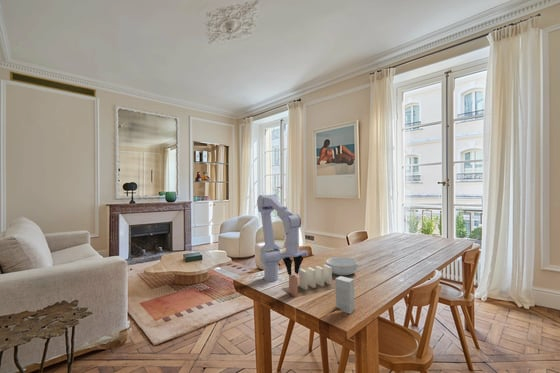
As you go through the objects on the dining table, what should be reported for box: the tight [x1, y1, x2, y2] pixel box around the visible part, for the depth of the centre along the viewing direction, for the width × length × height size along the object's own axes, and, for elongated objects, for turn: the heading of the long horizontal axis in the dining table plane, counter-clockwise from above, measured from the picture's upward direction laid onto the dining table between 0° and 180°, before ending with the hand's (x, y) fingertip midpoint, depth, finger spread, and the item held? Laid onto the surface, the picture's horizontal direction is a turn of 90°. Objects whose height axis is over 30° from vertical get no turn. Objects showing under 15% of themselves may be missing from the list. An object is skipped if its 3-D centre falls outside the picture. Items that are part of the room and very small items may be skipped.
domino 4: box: [322, 264, 333, 285], centre depth 123 cm, size 2×5×8 cm, turn 24°
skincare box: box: [334, 275, 356, 315], centre depth 98 cm, size 6×4×12 cm
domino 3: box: [314, 265, 324, 286], centre depth 121 cm, size 2×5×8 cm, turn 24°
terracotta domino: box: [288, 273, 299, 298], centre depth 110 cm, size 2×5×8 cm, turn 24°
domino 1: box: [298, 268, 308, 290], centre depth 117 cm, size 2×5×8 cm, turn 24°
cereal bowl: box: [325, 256, 359, 276], centre depth 138 cm, size 17×17×7 cm
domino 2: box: [306, 266, 316, 288], centre depth 119 cm, size 2×5×8 cm, turn 24°
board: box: [282, 281, 336, 299], centre depth 117 cm, size 26×11×1 cm, turn 114°
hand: (293, 273), depth 110 cm, fingers open, 3 cm apart
